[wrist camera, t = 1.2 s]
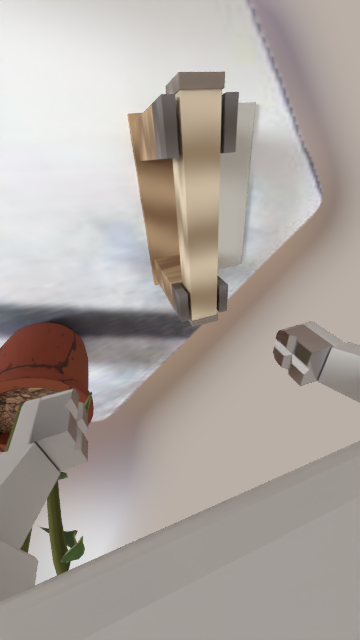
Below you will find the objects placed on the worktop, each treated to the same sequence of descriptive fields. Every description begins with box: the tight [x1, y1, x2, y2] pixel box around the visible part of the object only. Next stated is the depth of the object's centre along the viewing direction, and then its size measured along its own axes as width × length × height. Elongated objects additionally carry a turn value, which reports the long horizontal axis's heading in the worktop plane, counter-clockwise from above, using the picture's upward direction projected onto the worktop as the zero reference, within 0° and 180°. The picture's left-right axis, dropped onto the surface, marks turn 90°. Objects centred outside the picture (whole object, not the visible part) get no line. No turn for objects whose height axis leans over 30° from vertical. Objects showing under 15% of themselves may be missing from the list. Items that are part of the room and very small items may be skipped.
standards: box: [128, 92, 239, 322], centre depth 27 cm, size 21×7×13 cm, turn 4°
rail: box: [166, 72, 225, 327], centre depth 23 cm, size 22×3×3 cm, turn 4°
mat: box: [218, 102, 256, 268], centre depth 33 cm, size 21×8×1 cm, turn 4°
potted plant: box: [0, 322, 93, 576], centre depth 25 cm, size 17×16×35 cm
